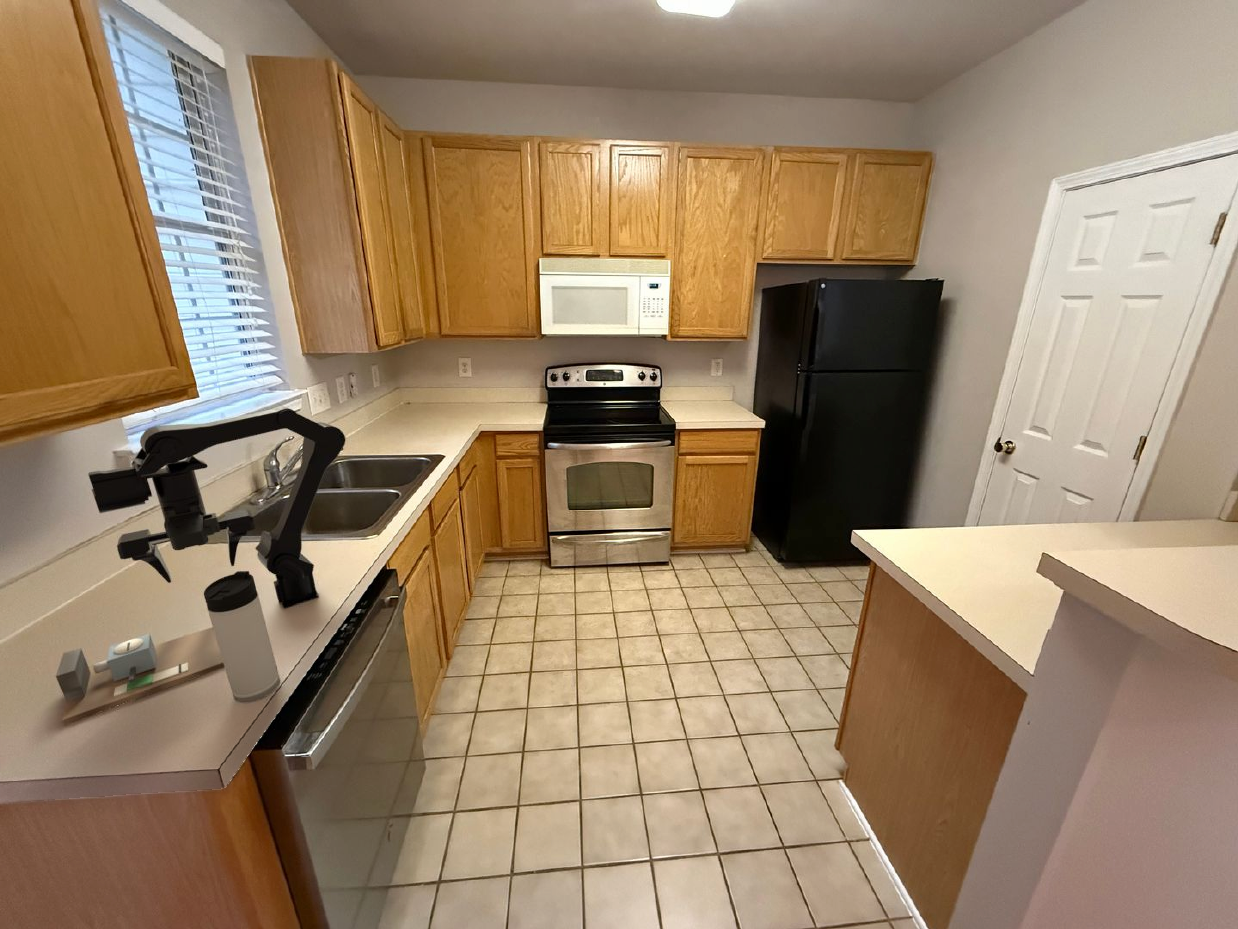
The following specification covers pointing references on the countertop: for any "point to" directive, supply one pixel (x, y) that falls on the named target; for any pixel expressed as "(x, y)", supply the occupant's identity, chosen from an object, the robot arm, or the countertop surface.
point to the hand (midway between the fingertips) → (202, 573)
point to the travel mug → (242, 636)
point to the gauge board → (102, 692)
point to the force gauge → (129, 658)
